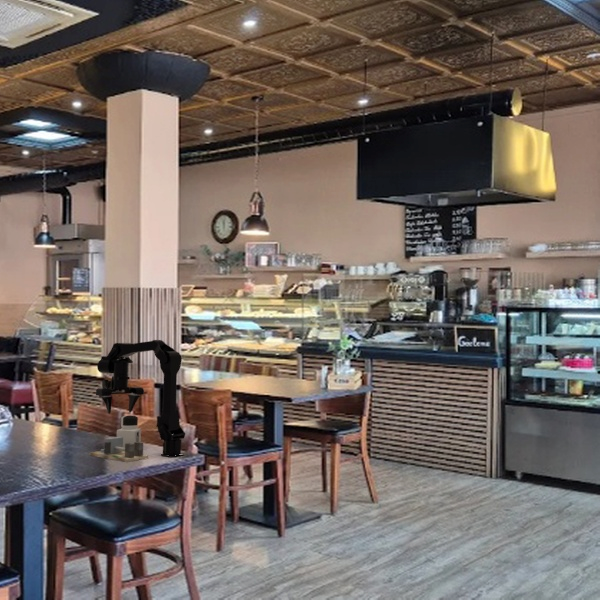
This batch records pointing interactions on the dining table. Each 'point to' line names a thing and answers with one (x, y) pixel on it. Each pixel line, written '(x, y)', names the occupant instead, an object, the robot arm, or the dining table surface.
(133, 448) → the gauge board
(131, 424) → the container
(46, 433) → the dining table surface
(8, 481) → the dining table surface
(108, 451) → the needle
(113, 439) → the grey rectangular block
